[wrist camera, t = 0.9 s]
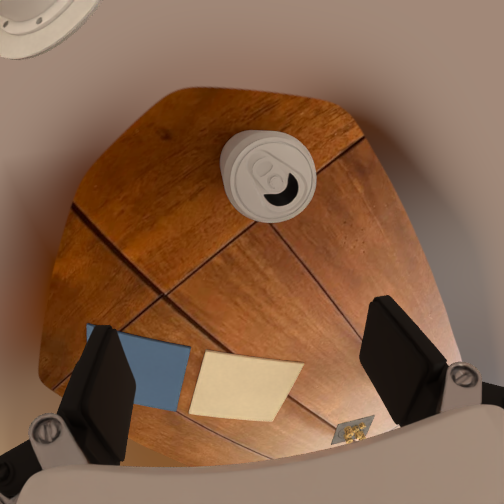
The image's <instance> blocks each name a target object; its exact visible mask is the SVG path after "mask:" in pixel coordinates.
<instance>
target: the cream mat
mask: <svg viewBox="0 0 504 504" xmlns="http://www.w3.org/2000/svg"><path fill="white" fill-rule="evenodd" d="M303 365H304V362H294V361H285V360H276V359H267V358H259V357H252V356H245V355H238V354H231V353H224V352H218V351H212V350H206V351H205V354H204V358H203V362H202V365H201V369H200V372H199V376H198V380H197V383H196V387H195V390H194V394H193V398H192V401H191V405H190V409H189V414H196V415H203V416H211V417H220V418H230V419H241V420H254V421H273V419H274V418H275V416H276V414H277V412H278V411H279V409H280V407H281V405H282V404H283V402H284V400H285V398H286V397H287V395H288V393H289V391H290V390H291V388H292V386H293V384H294V382H295V380H296V379H297V377H298V375H299V373H300V371H301V369H302V367H303Z"/></svg>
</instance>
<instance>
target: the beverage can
mask: <svg viewBox="0 0 504 504" xmlns="http://www.w3.org/2000/svg"><path fill="white" fill-rule="evenodd" d="M220 169H221V174H222V178H223V183H224V188H225V191H226V194H227V196H228V199H229V200H230V202H231V203H232V205H233V206H234V207H235V208H236V209H237V210H238V211H239V212H240V213H241V214H243V215H244V216H246V217H248V218H250V219H252V220H255V221H259V222H268V223H276V222H282V221H286V220H289V219H291V218H293V217H295V216H296V215H298V214H299V213H300V212H302V211H303V210H304V209H305V208H306V206H307V205H308V204H309V202H310V201H311V199H312V197H313V194H314V191H315V188H316V170H315V165H314V161H313V159H312V157H311V155H310V153H309V151H308V150H307V148H306V147H305V146H304V145H303V144H302V143H301V142H300V141H298V140H297V139H296V138H294V137H292V136H290V135H288V134H285V133H282V132H277V131H263V130H247V131H243V132H240V133H238V134H236V135H234V136H233V137H232V138H230V139H229V140H228V141H227V143H226V144H225V146H224V147H223V149H222V152H221V156H220Z"/></svg>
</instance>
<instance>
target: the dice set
mask: <svg viewBox="0 0 504 504" xmlns="http://www.w3.org/2000/svg"><path fill="white" fill-rule="evenodd" d="M366 427H367V425H366V423H365V422H361V423H360V424H359V425H358V426H356V425H355V426H353V427H351V426H346V427H345V428H344V429H343V431H344V435H343V438H344V441H346V443H347V444H349V443H351V442H352V441H353V436H354V437H355V439H359V441H360V440H363V439H366V437H365V436H366V435H365V433H364V431H363V430H364V429H365V428H366Z"/></svg>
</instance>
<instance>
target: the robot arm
mask: <svg viewBox="0 0 504 504" xmlns="http://www.w3.org/2000/svg"><path fill="white" fill-rule="evenodd" d="M73 1H74V0H0V28H1V29H2V30H3V31H5V32H6V33H9V34H11V35H16V36H21V35H27V34H31V33H34V32H36V31H38V30H40V29H42V28H44V27H45V26H47V25H49V24H50V23H51V22H53V21H54V20H55V19H57V18H58V17H59V16H60V15H61V14H62V13H63V12H64V11H65V10H66V9H67V8H68V7H69V6H70V5H71V4H72V2H73ZM359 358H360V362H361V364H362V366H363V368H364V370H365V371H366V373H367V375H368V376H369V378H370V380H371V382H372V383H373V385H374V387H375V389H376V390H377V392H378V394H379V396H380V398H381V399H382V401H383V403H384V405H385V406H386V408H387V410H388V412H389V414H390V415H391V417H392V419H393V421H394V422H395V424H397V425H398V424H399V425H400V427H401V428H398V429H395V430H392V431H389V432H386V433H383V434H380V435H377V436H373V437H370V438H367V439H363V440H360V441H356V442H353V443H349V444H345V445H341V446H337V447H333V448H329V449H325V450H321V451H316V452H311V453H306V454H301V455H296V456H291V457H285V458H279V459H273V460H266V461H258V462H250V463H241V464H231V465H219V466H203V467H131V466H120V461H124V459H125V452H126V446H127V439H128V433H129V427H130V421H131V415H132V409H133V404H134V398H135V393H136V381H135V378H134V376H133V373H132V371H131V368H130V366H129V363H128V360H127V358H126V355H125V352H124V350H123V347H122V344H121V341H120V338H119V336H118V333H117V330H116V329H112V327H111V326H110V325H97V326H95V327H94V328H93V331H92V333H91V335H90V337H89V339H88V342H87V344H86V346H85V348H84V351H83V353H82V355H81V358H80V360H79V361H78V362H77V364H76V366H75V368H74V370H73V373H72V375H71V378H70V380H69V383H68V385H67V388H66V390H65V393H64V395H63V398H62V401H61V404H60V406H59V409H58V411H57V414H54V413H45V414H42V415H40V416H38V417H37V418H36V419H34V421H33V422H32V423H31V425H30V427H29V432H28V434H29V440H27V441H25V442H24V443H22V444H20V445H18V446H17V447H15V448H13V449H11V450H10V451H8V452H6V453H4V454H3V455H1V456H0V504H504V387H501V386H497V385H493V384H489V383H485V382H482V377H481V374H480V372H479V370H478V369H477V368H476V367H474V366H473V365H471V364H469V363H466V362H455V363H453V364H451V365H450V366H448V365H447V363H446V361H447V360H446V359H445V357H444V356H443V355H442V354H441V353H440V351H439V350H438V349H437V348H436V347H435V346H434V344H433V343H432V342H431V341H430V340H429V339H428V337H427V336H426V335H425V334H424V333H423V332H422V331H421V330H420V328H419V327H418V326H417V325H416V324H415V323H414V322H413V321H412V319H411V318H410V317H409V316H408V315H407V314H406V313H405V312H404V311H403V309H402V308H401V307H400V306H399V305H398V304H397V303H396V302H395V301H394V300H393V299H392V297H391V296H389V295H386V296H380V297H375V298H374V299H373V302H370V304H369V309H368V315H367V320H366V325H365V331H364V336H363V340H362V345H361V350H360V355H359Z"/></svg>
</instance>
